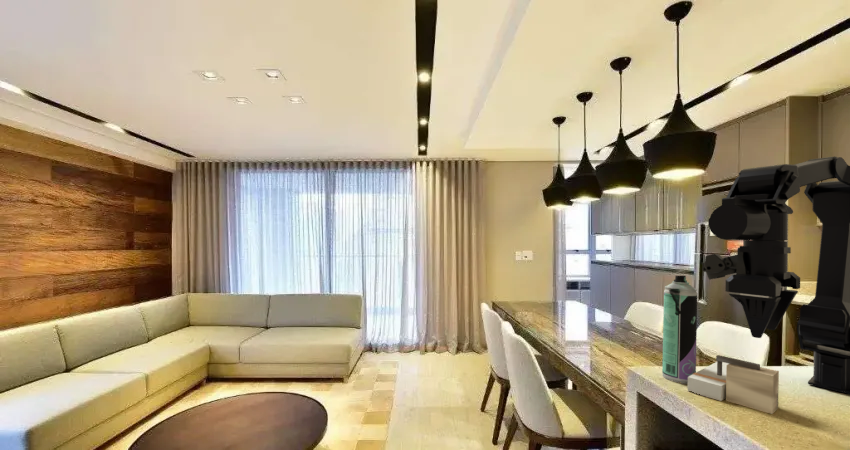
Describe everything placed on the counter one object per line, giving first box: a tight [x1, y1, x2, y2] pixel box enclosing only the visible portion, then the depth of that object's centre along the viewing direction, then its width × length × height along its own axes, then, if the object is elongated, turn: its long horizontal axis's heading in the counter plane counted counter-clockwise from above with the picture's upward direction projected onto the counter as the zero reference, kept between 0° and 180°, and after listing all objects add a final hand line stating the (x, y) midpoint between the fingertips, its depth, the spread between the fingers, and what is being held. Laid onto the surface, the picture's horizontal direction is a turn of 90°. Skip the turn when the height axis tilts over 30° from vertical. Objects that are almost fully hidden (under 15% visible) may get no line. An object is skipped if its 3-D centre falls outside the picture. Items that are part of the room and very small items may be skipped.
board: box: [687, 361, 729, 402], centre depth 74 cm, size 18×5×3 cm, turn 128°
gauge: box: [715, 354, 780, 415], centre depth 67 cm, size 4×8×7 cm, turn 38°
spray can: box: [661, 275, 698, 384], centre depth 77 cm, size 6×6×20 cm
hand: (764, 333), depth 67 cm, fingers open, 9 cm apart
